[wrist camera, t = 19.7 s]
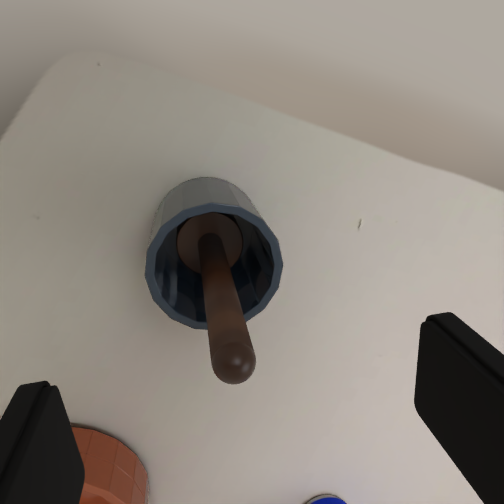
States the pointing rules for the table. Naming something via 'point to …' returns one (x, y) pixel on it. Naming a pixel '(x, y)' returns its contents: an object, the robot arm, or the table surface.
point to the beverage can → (326, 500)
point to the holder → (190, 283)
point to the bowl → (110, 470)
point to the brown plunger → (219, 290)
